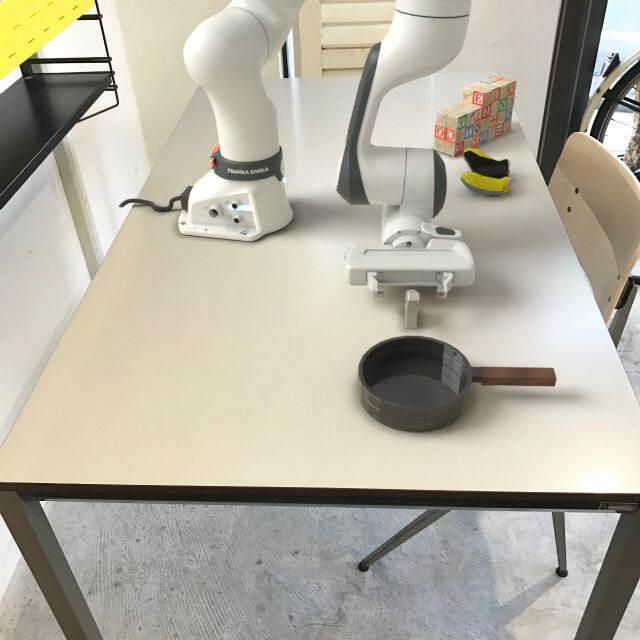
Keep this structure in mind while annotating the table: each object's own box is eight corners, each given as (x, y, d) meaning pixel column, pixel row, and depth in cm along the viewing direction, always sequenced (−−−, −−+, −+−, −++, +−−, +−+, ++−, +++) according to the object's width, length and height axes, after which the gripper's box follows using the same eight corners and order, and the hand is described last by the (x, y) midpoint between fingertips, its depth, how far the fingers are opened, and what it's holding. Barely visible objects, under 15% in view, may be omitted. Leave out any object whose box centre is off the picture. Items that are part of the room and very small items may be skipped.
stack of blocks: (454, 157, 157) (458, 103, 150) (433, 150, 161) (436, 97, 154) (510, 130, 168) (517, 79, 161) (489, 124, 172) (494, 74, 165)
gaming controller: (458, 200, 141) (509, 203, 139) (460, 175, 137) (513, 177, 135) (461, 169, 152) (508, 171, 150) (463, 145, 149) (512, 147, 147)
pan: (356, 431, 90) (356, 408, 88) (359, 356, 103) (359, 334, 100) (475, 433, 89) (478, 411, 87) (464, 357, 101) (466, 336, 99)
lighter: (404, 312, 111) (406, 270, 106) (415, 312, 111) (418, 270, 106) (406, 340, 105) (407, 296, 100) (417, 340, 105) (420, 296, 100)
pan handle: (470, 385, 93) (471, 376, 92) (469, 374, 95) (470, 365, 94) (555, 386, 92) (557, 378, 91) (551, 375, 94) (553, 367, 93)
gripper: (345, 230, 114) (340, 276, 103) (471, 230, 113) (480, 277, 102) (345, 262, 118) (341, 310, 107) (467, 263, 117) (476, 312, 106)
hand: (410, 294), depth 104 cm, fingers open, 8 cm apart
